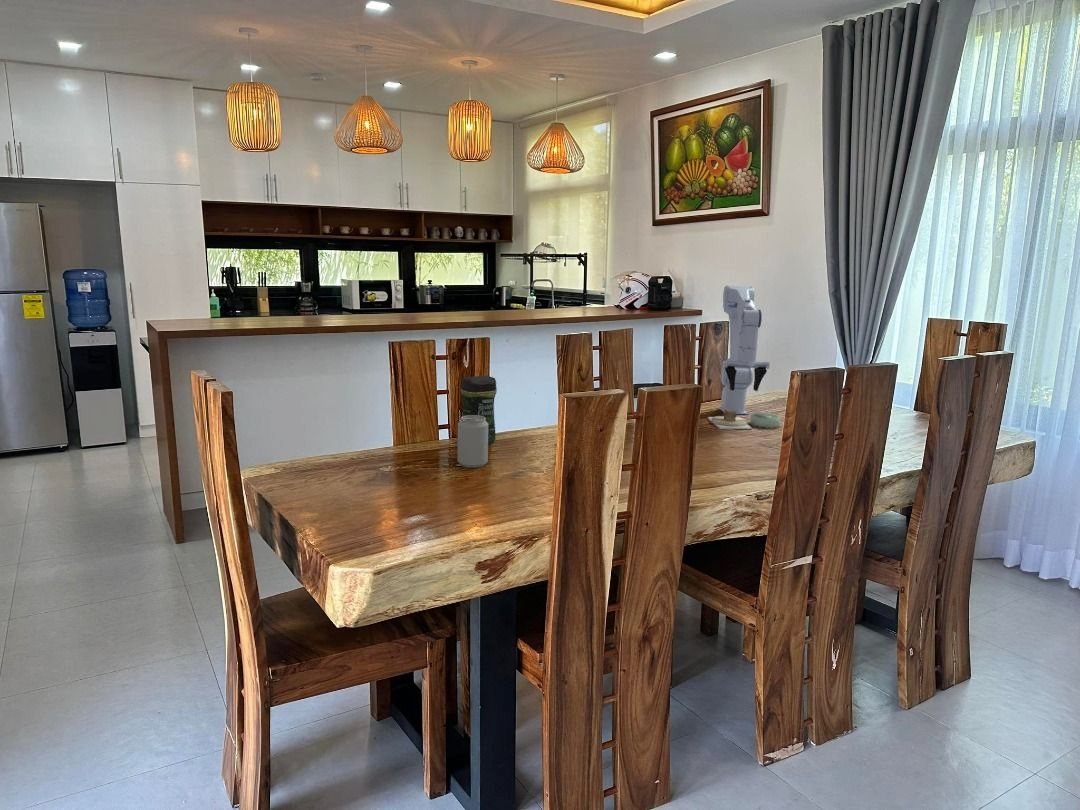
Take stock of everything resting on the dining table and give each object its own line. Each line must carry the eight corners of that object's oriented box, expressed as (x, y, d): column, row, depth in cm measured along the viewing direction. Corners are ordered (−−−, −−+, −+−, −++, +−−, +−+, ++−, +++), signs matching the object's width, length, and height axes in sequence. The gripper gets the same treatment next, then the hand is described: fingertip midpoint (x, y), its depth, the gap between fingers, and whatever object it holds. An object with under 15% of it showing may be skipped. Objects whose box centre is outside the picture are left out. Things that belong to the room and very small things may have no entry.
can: (451, 463, 182) (451, 416, 179) (473, 458, 187) (474, 412, 184) (471, 470, 177) (472, 422, 174) (494, 464, 182) (494, 417, 180)
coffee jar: (470, 448, 196) (470, 380, 192) (455, 441, 202) (455, 375, 198) (500, 443, 202) (501, 377, 198) (485, 437, 208) (486, 372, 204)
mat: (707, 418, 239) (707, 417, 239) (737, 419, 240) (738, 417, 239) (719, 429, 225) (720, 427, 225) (751, 429, 226) (752, 427, 226)
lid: (707, 418, 238) (708, 406, 237) (740, 418, 238) (741, 407, 237) (717, 426, 227) (718, 414, 226) (752, 426, 227) (753, 414, 227)
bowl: (746, 421, 237) (747, 412, 237) (773, 421, 238) (774, 412, 237) (755, 427, 228) (756, 418, 228) (783, 428, 229) (784, 419, 228)
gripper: (728, 348, 227) (725, 391, 230) (774, 349, 228) (770, 392, 230) (722, 346, 234) (718, 388, 237) (766, 347, 235) (762, 389, 237)
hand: (743, 390), depth 234 cm, fingers open, 7 cm apart
